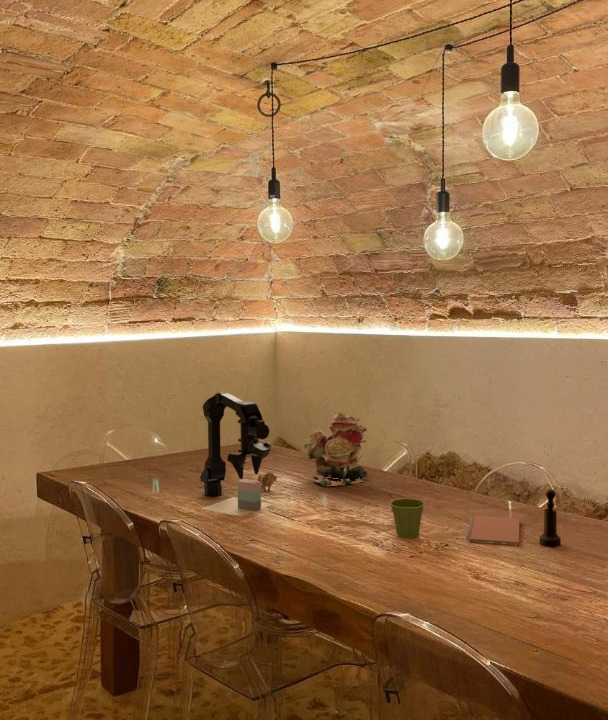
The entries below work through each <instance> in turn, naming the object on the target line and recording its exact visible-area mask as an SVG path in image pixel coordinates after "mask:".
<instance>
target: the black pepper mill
mask: <svg viewBox="0 0 608 720" xmlns="http://www.w3.org/2000/svg"><path fill="white" fill-rule="evenodd" d="M545 496H546V498H547V502H546V507H547V508H544V509H543V533H541V534H540V536H539V545H540V544H541V546H542V545H544V546H543V547H546V546H550V547H549V548H557V547H556V546H558V547H560V546H561V536H559V535H558V534H557V516H558V515H557V514H558V513H557V509H554V507H555V503H554V498H555V497H556V491H555V490H554V489H551V488H549V489H546V491H545ZM559 545H560V546H559Z"/></svg>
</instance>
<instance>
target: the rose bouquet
mask: <svg viewBox="0 0 608 720" xmlns="http://www.w3.org/2000/svg"><path fill="white" fill-rule="evenodd" d="M332 419H334V421H330V425H329V430H330V431H331V433H332V434H331V435H328V434H325V433H324V432H323V430H322V429H320V430H316V431H314V432H313V433H312V434H310V436H309V438H307V439H306V441H307V443H306V444H304V446H303V447H304V449H307V451H306V453H305V454H306V455H307V457H308V460H313V462H314V463H315V467H316V470H315V471H316V472H315V473H314V474H316V475H321V476H324V477H331V478H339V479H343V482H342V484H351V483H352V482H353V481H346V480H345V479H348V478H349V479H359V477H360V479H362V481H366V482H367V478H366V476H365V475H369V473H368V471H367V470H366V469H365V467H362V466H363V464H364V463H362V464H360V465H358V466H355V467H352V468H350V466H352V465H354V464H357V463H358V458H359V455H360V452H361V449H362V445H361V444H364V443H366V442H367V440H364V436H365V435H364V434H363V433H364V432H366V431H367V432H368V429H367V428H366V427H365V426H363V425H362V424H361V425H358V422H360V418H357V419H356V418H355V417H354V416H349V414H348V415H347V413H346V414H345V413H342V412H339V413H336V414H335V415H333V416H332ZM321 480H322V481H319V482H316V483H318V484H320V485H321V486H322V487H324V486H327V485H331V484H332V483H331V481H327V480H324V479H321Z"/></svg>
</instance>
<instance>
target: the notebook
mask: <svg viewBox="0 0 608 720" xmlns="http://www.w3.org/2000/svg"><path fill="white" fill-rule="evenodd" d="M466 539H467V540H468V542H469V541H475V542H474V543H479V542H493V543H506V544H518V545H519V544H520V518H519V517H518V518H515V517H502V516H501V517H500V516H486V515H485V516H484V515H483V516H482V515H473V516H472V517H470V520H469V524H468V529H467V532H466V536H465V540H466ZM506 544H505V545H506Z"/></svg>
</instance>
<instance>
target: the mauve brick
mask: <svg viewBox="0 0 608 720" xmlns="http://www.w3.org/2000/svg"><path fill="white" fill-rule="evenodd" d="M238 490H239V491H246V492H252V493H256V492H259V491H261V492H262V488H261V482H260V481H258V480H253V479H246V478H243V479H240V480H237V491H238Z"/></svg>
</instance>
